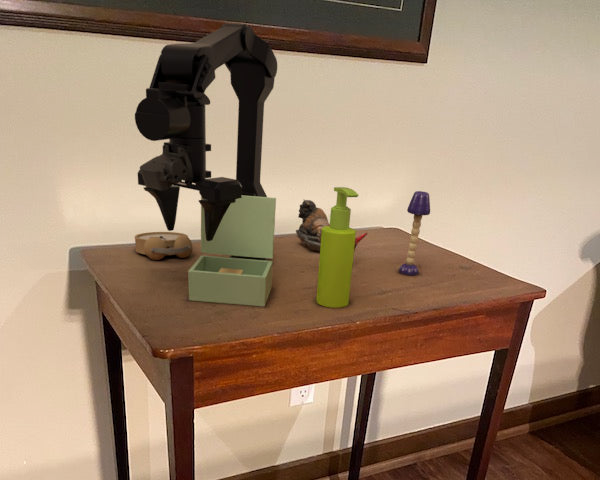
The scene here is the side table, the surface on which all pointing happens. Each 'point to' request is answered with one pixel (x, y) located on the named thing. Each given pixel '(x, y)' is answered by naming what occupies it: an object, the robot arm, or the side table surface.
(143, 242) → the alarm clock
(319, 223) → the bison figurine
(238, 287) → the chest
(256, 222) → the lid
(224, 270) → the block
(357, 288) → the side table surface
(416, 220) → the toy lamp
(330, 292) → the soap dispenser
